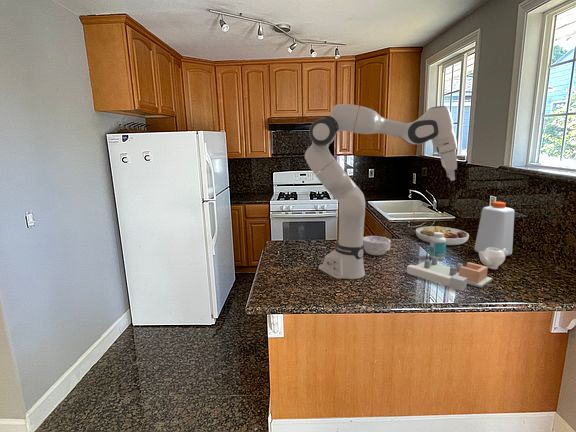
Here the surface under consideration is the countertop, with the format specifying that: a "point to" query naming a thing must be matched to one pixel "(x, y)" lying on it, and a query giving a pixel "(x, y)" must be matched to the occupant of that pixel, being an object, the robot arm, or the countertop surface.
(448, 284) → the white long bar
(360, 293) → the countertop surface
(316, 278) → the countertop surface
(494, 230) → the plastic bottle
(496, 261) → the teapot
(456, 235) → the bowl
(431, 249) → the pill bottle
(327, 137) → the robot arm
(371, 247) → the paper bowls
